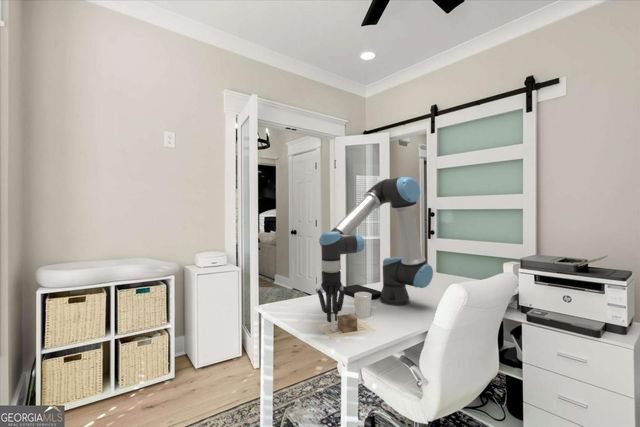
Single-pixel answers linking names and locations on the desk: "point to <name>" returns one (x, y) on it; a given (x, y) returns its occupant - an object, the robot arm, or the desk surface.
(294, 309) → the desk surface
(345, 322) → the block
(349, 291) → the external hard drive
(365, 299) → the white cup
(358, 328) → the letter
